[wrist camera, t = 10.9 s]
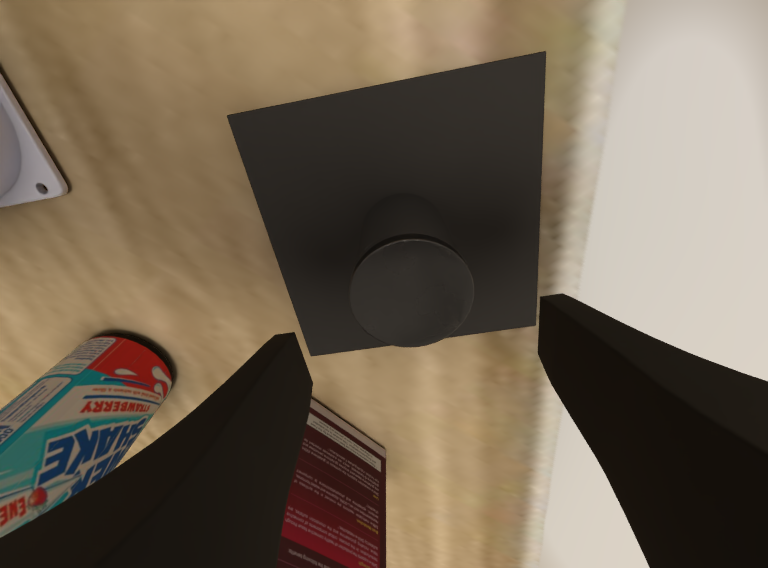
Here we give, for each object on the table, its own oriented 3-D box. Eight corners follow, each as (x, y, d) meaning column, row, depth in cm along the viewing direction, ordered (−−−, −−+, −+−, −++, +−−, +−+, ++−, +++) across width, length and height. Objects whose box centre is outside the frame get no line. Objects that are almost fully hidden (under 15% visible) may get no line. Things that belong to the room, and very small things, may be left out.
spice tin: (369, 279, 19) (362, 354, 14) (351, 200, 17) (335, 251, 12) (449, 266, 19) (477, 339, 13) (441, 184, 17) (470, 228, 11)
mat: (311, 352, 22) (310, 356, 22) (229, 115, 16) (226, 115, 16) (533, 321, 21) (536, 325, 21) (542, 52, 15) (546, 50, 14)
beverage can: (164, 409, 25) (-85, 762, 12) (75, 376, 23) (-323, 737, 10) (189, 354, 23) (-88, 719, 9) (92, 313, 21) (-399, 677, 8)
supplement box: (261, 422, 26) (112, 817, 12) (305, 389, 24) (192, 800, 10) (346, 476, 29) (308, 842, 15) (389, 450, 27) (394, 831, 13)
